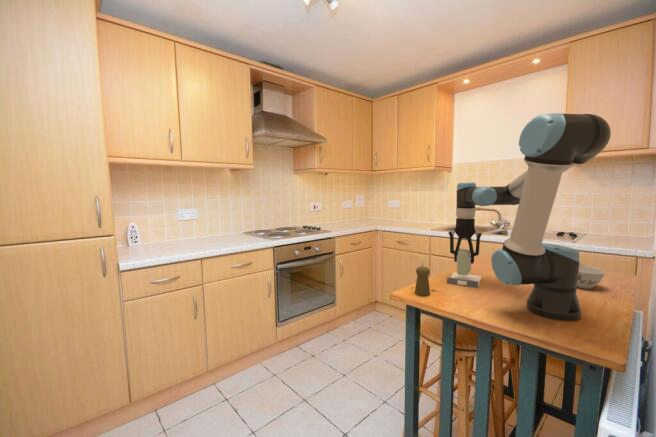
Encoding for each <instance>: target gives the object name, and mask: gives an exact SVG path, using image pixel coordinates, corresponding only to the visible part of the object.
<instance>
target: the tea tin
mask: <svg viewBox="0 0 656 437" xmlns="http://www.w3.org/2000/svg"><path fill="white" fill-rule="evenodd" d="M469 256H471V254H470V249H464V248H459V251H458V270H457V269H456V270H457V272H456V273H457V275H465V276H467V275H468V274H469V273H470V271H469Z"/></svg>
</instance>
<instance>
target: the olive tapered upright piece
mask: <svg viewBox="0 0 656 437" xmlns="http://www.w3.org/2000/svg"><path fill="white" fill-rule="evenodd" d="M430 273H431V271H430V269H429V268H428V267H427V266H418V267H416V270H415V274H416V281H415V289H414V295H416V296H419V297H429V296H430V295H431V291H430V290H431V289H430V282H429V275H430Z"/></svg>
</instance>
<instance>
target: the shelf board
mask: <svg viewBox="0 0 656 437" xmlns="http://www.w3.org/2000/svg"><path fill="white" fill-rule="evenodd" d="M481 279H482V275H475V274H469V273H468V275H467V276H465V275H457V272H452V274H451V276H447V277H446V284H448V285H454V286H461V287H467V288H474V289H478V288H479V285H480V282H481Z"/></svg>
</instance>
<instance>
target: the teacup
mask: <svg viewBox="0 0 656 437" xmlns="http://www.w3.org/2000/svg"><path fill="white" fill-rule="evenodd" d="M604 275H605V271H604V270H603V269H600V268H597V267H592V266H588V265H582V264H581V265H580V264H579V271H578V280H577V288H579V289H585V290H589V289H591V290H592V289H593V288H594V287H596V286H597V285H599V284H600V283H601V281H602V280H603V279H604Z"/></svg>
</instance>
